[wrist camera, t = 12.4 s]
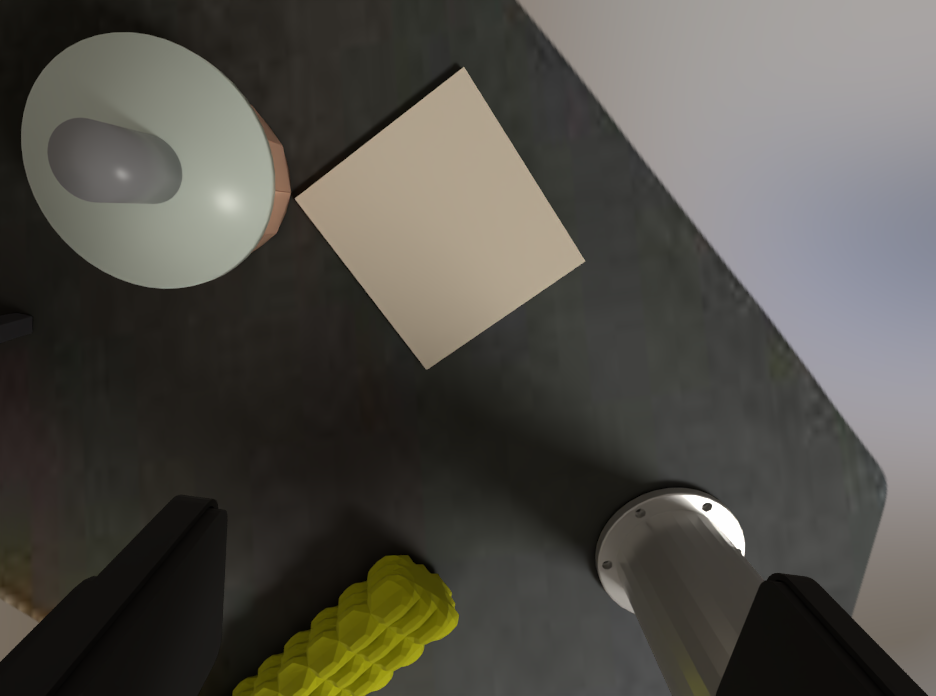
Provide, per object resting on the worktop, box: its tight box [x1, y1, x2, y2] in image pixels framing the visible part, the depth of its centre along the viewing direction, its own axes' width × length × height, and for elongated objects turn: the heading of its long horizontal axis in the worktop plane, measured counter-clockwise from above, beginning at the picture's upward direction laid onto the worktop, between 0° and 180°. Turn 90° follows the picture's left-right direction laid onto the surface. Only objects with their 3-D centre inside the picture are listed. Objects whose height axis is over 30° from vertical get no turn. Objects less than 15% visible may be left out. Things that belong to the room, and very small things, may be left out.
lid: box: [21, 32, 275, 289], centre depth 24 cm, size 13×13×5 cm
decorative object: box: [233, 555, 459, 696], centre depth 41 cm, size 7×33×7 cm, turn 134°
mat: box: [295, 67, 585, 370], centre depth 34 cm, size 15×14×1 cm
